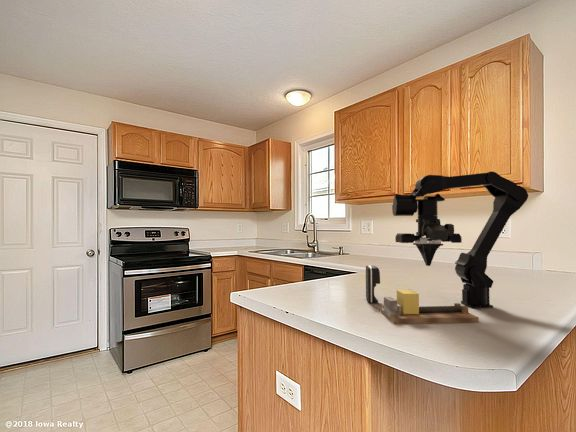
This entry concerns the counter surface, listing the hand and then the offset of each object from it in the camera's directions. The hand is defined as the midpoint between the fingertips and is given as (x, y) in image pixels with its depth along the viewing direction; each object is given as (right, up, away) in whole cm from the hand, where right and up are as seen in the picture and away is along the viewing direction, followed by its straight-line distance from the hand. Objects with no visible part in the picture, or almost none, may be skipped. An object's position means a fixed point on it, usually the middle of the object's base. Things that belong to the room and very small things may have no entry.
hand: (428, 265), depth 99 cm
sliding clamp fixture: (-6, -12, -14) cm, 19 cm away
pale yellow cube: (-12, -10, -14) cm, 21 cm away
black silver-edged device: (-16, -12, +4) cm, 21 cm away
